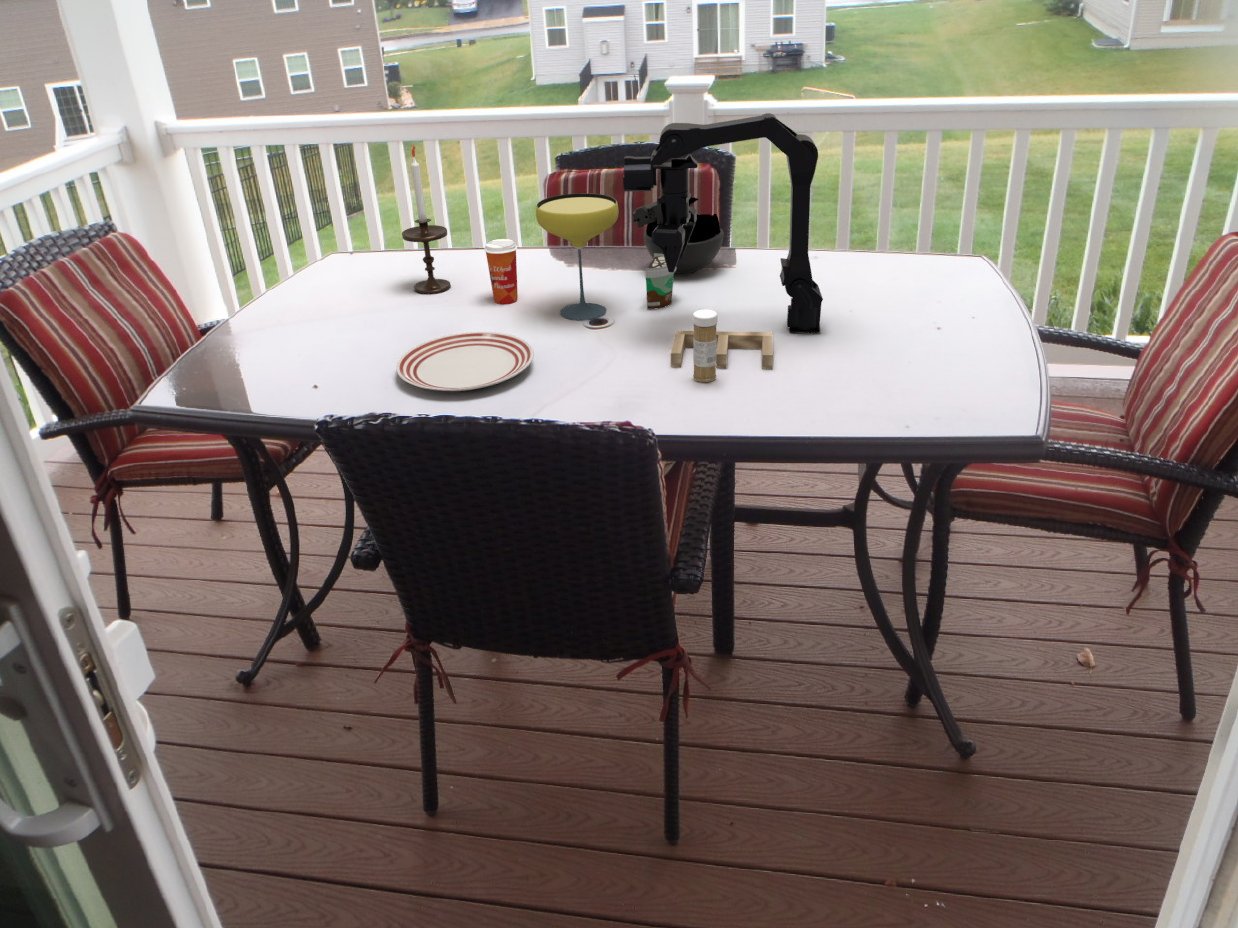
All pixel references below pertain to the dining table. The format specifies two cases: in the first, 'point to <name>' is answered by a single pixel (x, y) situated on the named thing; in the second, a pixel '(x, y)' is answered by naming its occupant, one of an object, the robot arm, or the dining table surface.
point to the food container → (658, 283)
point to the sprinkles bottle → (704, 345)
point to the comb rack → (726, 346)
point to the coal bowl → (693, 242)
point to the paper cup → (502, 270)
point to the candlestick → (425, 237)
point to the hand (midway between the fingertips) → (675, 265)
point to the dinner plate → (465, 361)
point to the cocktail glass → (578, 234)
